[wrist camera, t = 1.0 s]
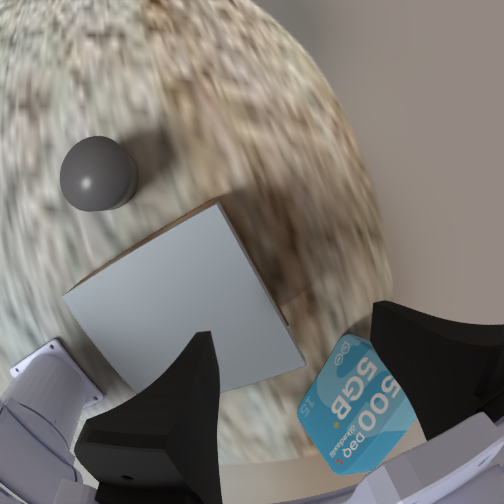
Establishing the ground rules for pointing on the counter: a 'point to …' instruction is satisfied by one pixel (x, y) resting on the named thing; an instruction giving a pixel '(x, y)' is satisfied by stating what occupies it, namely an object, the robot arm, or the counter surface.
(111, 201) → the dark grey rounded plug
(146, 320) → the lid
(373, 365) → the data package
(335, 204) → the counter surface
